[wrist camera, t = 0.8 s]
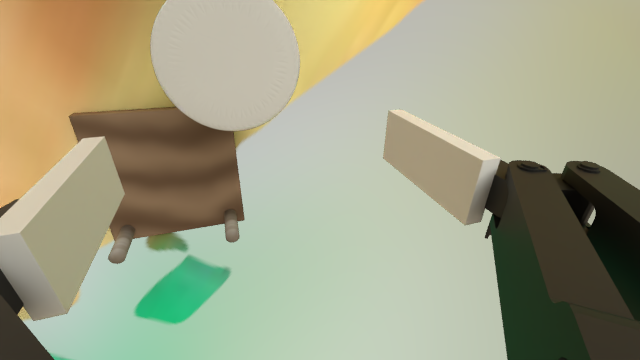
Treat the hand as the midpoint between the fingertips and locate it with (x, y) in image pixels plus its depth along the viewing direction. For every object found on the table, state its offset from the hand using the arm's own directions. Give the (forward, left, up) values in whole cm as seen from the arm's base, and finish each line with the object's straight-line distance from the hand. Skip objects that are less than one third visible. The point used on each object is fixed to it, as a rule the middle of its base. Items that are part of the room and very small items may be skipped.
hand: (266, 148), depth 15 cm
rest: (+13, -10, -29) cm, 34 cm away
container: (-3, -1, -30) cm, 30 cm away
